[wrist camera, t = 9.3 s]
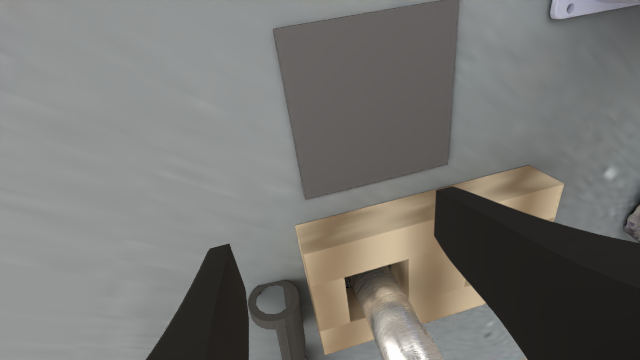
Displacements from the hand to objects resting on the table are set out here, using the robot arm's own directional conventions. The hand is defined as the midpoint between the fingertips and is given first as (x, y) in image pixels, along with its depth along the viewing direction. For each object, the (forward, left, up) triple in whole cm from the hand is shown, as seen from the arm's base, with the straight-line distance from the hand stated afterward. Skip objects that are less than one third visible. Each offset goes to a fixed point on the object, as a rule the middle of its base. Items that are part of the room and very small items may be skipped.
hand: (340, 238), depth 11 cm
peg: (-4, +11, -9) cm, 15 cm away
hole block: (-8, +11, -9) cm, 17 cm away
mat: (-5, -1, -9) cm, 11 cm away
